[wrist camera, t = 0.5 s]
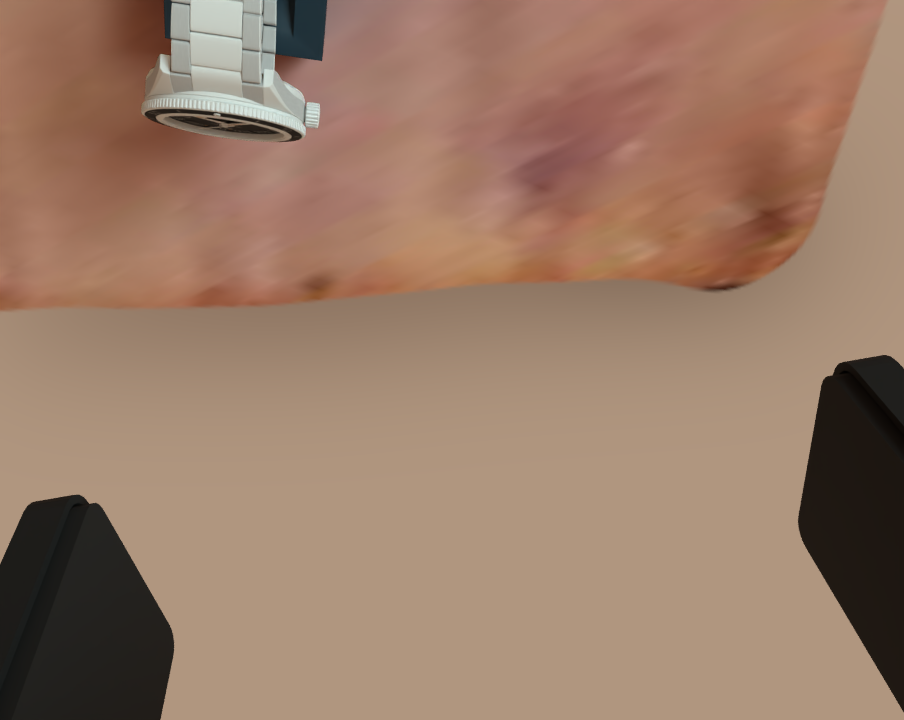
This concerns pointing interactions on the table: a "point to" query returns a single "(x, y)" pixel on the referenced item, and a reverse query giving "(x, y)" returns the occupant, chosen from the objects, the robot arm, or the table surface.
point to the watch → (235, 68)
